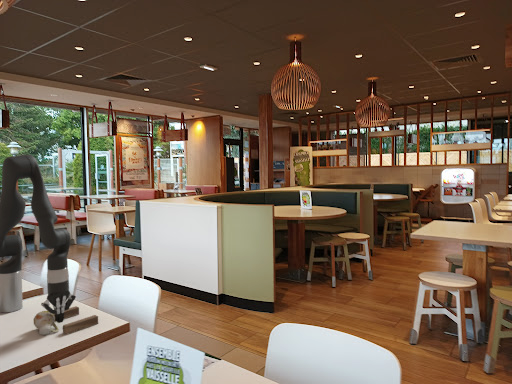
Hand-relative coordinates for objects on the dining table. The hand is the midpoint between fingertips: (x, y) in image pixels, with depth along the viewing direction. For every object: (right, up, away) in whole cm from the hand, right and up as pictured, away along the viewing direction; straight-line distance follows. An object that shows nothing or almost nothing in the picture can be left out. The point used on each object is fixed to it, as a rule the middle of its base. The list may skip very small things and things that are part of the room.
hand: (59, 322), depth 146 cm
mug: (-4, -3, -3) cm, 5 cm away
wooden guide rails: (+2, -2, +4) cm, 5 cm away
